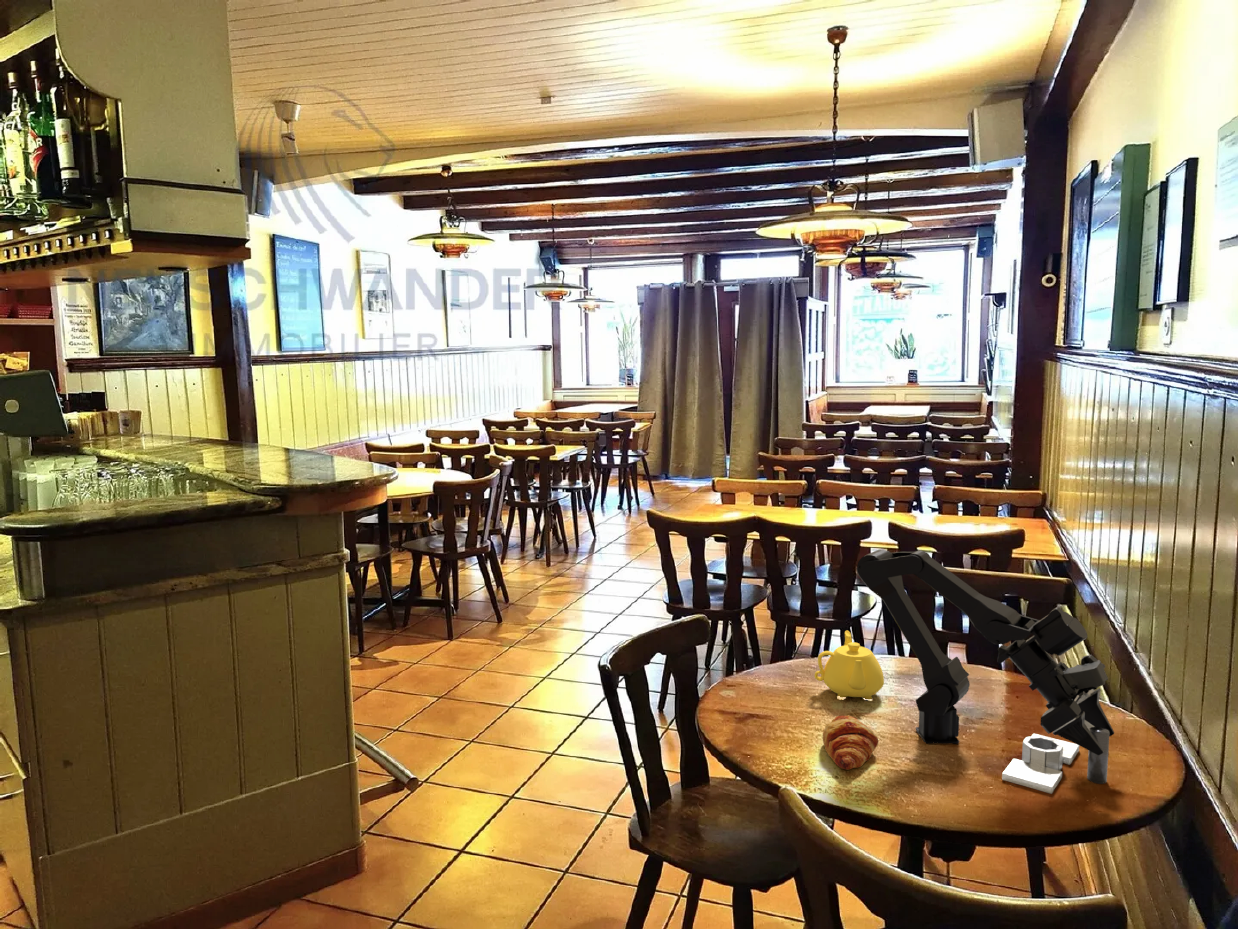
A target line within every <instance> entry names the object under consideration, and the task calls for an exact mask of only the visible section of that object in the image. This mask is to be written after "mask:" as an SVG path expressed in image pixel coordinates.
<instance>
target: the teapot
mask: <svg viewBox="0 0 1238 929" xmlns="http://www.w3.org/2000/svg"><path fill="white" fill-rule="evenodd" d="M824 656H829V658H828V659H827V661H826V663H825V664H824V667H823V662H822V661H823V660H822V659H823V657H824ZM817 664H818V665H817V666H818V668H819V670H816V671H815V672H814V679H815V680H816V681H819V682H823V683H824V685H826V686H827V688H828V689H829V690H830V691H832V692H833V693H834V694H836V695H838V696H840V697H847V698H848V697H852V698H862V697H863V698H865V699H872V698H873V697H872V696H873V695H876V694H877V693H879V691H880V690H881V689H882V688H883V687H884V684H885V678H884V671H883V670H882V667H881V665H880V663H879V660H878V659H877V658H876V655H875V654H874V653H873V652H872V650H870V649H869V648H867V647H865V646H861V645H860V643H858V642H853V639H852V633H851V632H850V631H849V630H845V631H844V644H843V645H841V646H838V647H836V649H835V650H834V651H831V650H824V651H821V652H820V653H819V654H818V656H817ZM818 675H820V676H818Z"/></svg>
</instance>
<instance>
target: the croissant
mask: <svg viewBox="0 0 1238 929" xmlns="http://www.w3.org/2000/svg"><path fill="white" fill-rule="evenodd" d="M821 739H822V742H823V744H824V748H825V751H826V753H827V756H828V757H830V758H831V760H832V761H833V762H834V763H835V765H836V766H837V767H839V768H840V769H843V770H848V771H849V770H852V769H858V768H861V767H862V766H863V765H864V764H865V762H867V761H869V760H870V758H871V757H872V755H873V753H874V752H875V750H876V748H877V747H878V744H879V738H878V735H877V734H876V733H875V732H874V730H872V728H870V727H869V726H867V725H866V724H865V723H863V722H861V721H860V720H859V719H858V718H857V717H854V716H851V715H837V716H836V717H834V718H833V719H832V720H831V722H829V723H827V724H826V725H825V727H824V730H823V732H822V737H821Z"/></svg>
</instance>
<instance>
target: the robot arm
mask: <svg viewBox="0 0 1238 929" xmlns="http://www.w3.org/2000/svg"><path fill="white" fill-rule="evenodd" d="M856 572H857V575H858V577H859V578H860V579H861V581H862V582H863V584H865V586H866V587H867V588H868V589H869V591H871V592H872V593H873V594H875V595H877V597H879V598H880V599H881V600H882V601H883V603H884V605H885V606H886V608H887V609H888V611H889V613H890V615H891V616H892V618H893V619H894V621H895V623H896V624H897V626H898V628H899V631H901V633H902V635H903V637H904V638H905V640H906V641H907V644H908V645H909V646H910V649H911V650H912V651H913V653H914V655H915V657H916V659H917V660H918V661H919V664H920V666H921V673H922V679H923V683H924V685H925V687H926V691H924V692H923V693H922V694H921V695H919V696H918V698H916V700H915V704H916V706H917V709H918V726H916V727H915V731H916V732H917V734H918V735H919V736H920V738H921V739H922V741H923V742H924V743H925V744H927V745H928V744H936V745H937V744H941V745H942V744H952V745H953V744H959V743H960V740H959V738H958V737H959V733H960V732H959V731H960V716H959V715H958V709H957V708H956V707H955V705H957V704H958V703H959V701H960V700H962V699H963V698H964V697H965V695H967V694H968V692H969V689H970V686H971V684H970V680H969V678H968V677H969V676H970V673H969V672H967V671H966V669H964V667H963V665H962V663H961V662H962V661H961V660H960V658H959V656H955V657H954V658H950V657H949V656H947V655H946V654H945V653H944V652H943V651H942V650H941V648H940V646H939V645H938V642H937V640H936V639H935V637H934V636H933V634H932V632H931V631H930V629H929V628H928V626H927V624H926V623H925V621H924V619H923V618H922V616H921V614H920V613H919V611H918V610H917V608H916V606H915V605H914V603H913V601H912V599H911V597H910V596H909V594H908V593H907V591H906V589H905V587H904V582H903V576H906V575H914V576H915V577H917V578H918V579H920V580H921V581H922V582H924V583H925V584H926V585H927V586H929V587H931V588H932V589H933V590H934V591H935V592H937V593H938V594H940V595H941V596H942V597H944V598H945V599H946V600H947V601H949V602H950V603H951V604H952V605H954V606H955V607H957V608H958V609H959V610H960V611H962V612H963V613H964V614H965V615H966V617H968V619H969V621H970V622H971V624H972V625H973V627H974V628H975V629H976V630H977V631H978V632H979V633H980V634H981V635H982V636H983V638H984V639H986V640H987V641H988V642H990V643H991V644H993V645H997V646H998V645H1000V646H999V647H998V648H997V650H998V656H997V664H1002V663H1003V662H1005V661H1006V660H1008V659H1009V660H1010V661H1011V662H1012V664H1013V663H1014V665H1015V666H1016V667H1017V669H1019V671H1020V672H1021V673H1022V675H1024V676H1025V678H1026V679H1027V680H1028V681H1029V682H1030V684H1029V685H1028V688H1029V689H1031V690H1032V691H1034V690H1037V691H1038V692H1039V694H1040V695H1041V696H1042V697H1043V698H1044V699H1045V701H1047V703H1046V704H1045V707H1046V708H1047V710H1046V711H1045V712H1044V713H1043V714H1042V715H1041V717H1040V723H1039V724H1040V726H1041V728H1043V729H1044V730H1045V732H1046V733H1047V734H1048V735H1050V734H1053V736H1058V737H1061V738H1064V739H1065V740H1067V741H1068V742H1070V743H1074V744H1077V745H1079V747H1081V748H1084V749H1085V750H1087V751H1088V752H1089V751H1091V752H1093V753H1095V754H1096V755H1101V754H1102V753H1103V752H1104V751H1103V750H1102V748H1101V746H1100V745H1099V743H1098V742H1097V740H1096V739H1095V738H1094V736H1093V735H1092V733H1091V732H1090V730H1089V729H1088V728H1087V726H1086V725H1085V722H1084V721H1085V720H1086V721H1087V722H1089V723H1090V724H1091V725H1093V726H1094V727H1101V728H1104V729H1107V730H1108V731H1109V732H1110V733H1109V737H1111V736H1113V735H1114V734H1115V731H1114V729H1113V727H1112V725H1111V723H1110V721H1109V719H1108V717H1107V715H1106V714H1105V712H1104V709H1103V707H1102V706H1101V703H1100V697H1101V696H1100V695H1101V692H1102V691H1101V688H1100V687H1103V686H1104V685H1105V684H1106V682H1107V681H1108V680H1109V677H1108V676H1107V674H1106V671H1105V669H1106V665H1105V664H1104V663H1102V661H1101V660H1100V659H1097V658H1096V656H1095V657H1094V656H1093V654H1088V655H1083V657H1081V660H1080V664H1076V665H1075V666H1073V667H1069V666H1067V664H1066V663H1065V662H1062V661H1059V662H1058V663H1057V661H1056V660H1055V659H1054V658H1053V657H1052V656H1053V655H1055V656H1058V657H1059V656H1063V655H1064V654H1066V653H1067V652H1068V651H1070V650H1071V649H1073V648H1074V647H1075V646H1077V645H1080V643H1082V642H1083V641H1084V640H1086V639H1088V632H1087V631H1086V628H1085V627H1084V626H1083V624H1082V623H1081V622H1080V621H1079V620H1078V618H1076V617H1074V616H1073V615H1072V614H1070V613H1068V612H1066V611H1063V609H1062V608H1061V607H1060V606H1057V607H1055V608H1053V609H1052V610H1051V611H1050V612H1049V613H1048V614H1047V615H1045V616H1044V617H1042V618H1041V619H1037V618H1033V617H1029V616H1025V615H1022V614H1020V613H1019V612H1018V611H1017V610H1016V609H1014V608H1013V607H1010V606H1009V605H1007V604H1004V603H1003V602H1001V601H1000V600H996V599H993V598H990V597H988V596H985V595H984V594H981V593H979V591H977V590H975V588H973V587H972V586H970V585H969V584H968V583H966V582H965V581H963V580H962V579H961V578H959V577H958V576H957V575H956V574H954V573H953V572H951V571H950V570H949V569H948V568H946V567H945V566H943V565H942V564H941V563H939V562H938V561H937V560H936V559H934V558H933V557H932V556H931V555H930V554H929V553H928V552H927V551H925V550H916V551H897V552H891V551H889V550H885V549H878V550H877V549H876V550H874V551H872V552H870V553H867V554H866V555H863V556H862V557H861V558H859V560H858V562H857V565H856ZM1030 635H1032V636H1031V637H1029V636H1030ZM1028 637H1029V638H1028ZM1026 638H1028V639H1027V640H1025V639H1026ZM1011 641H1013V642H1012V643H1011V644H1009V645H1005V644H1007V643H1009V642H1011ZM1092 689H1093V690H1095V691H1094V692H1093V691H1092Z"/></svg>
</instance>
